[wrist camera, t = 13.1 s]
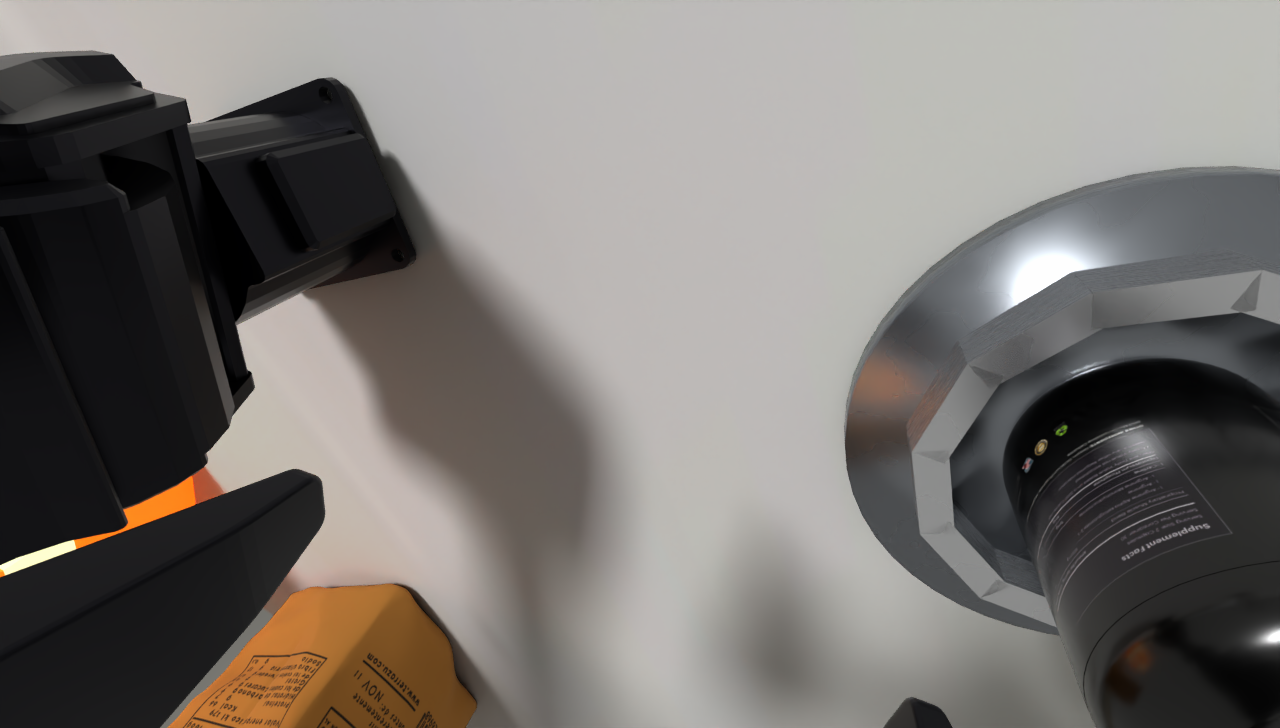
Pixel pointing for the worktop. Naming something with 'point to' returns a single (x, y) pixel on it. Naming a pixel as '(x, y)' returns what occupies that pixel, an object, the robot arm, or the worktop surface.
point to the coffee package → (339, 668)
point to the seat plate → (1006, 279)
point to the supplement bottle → (1157, 539)
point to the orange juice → (136, 516)
